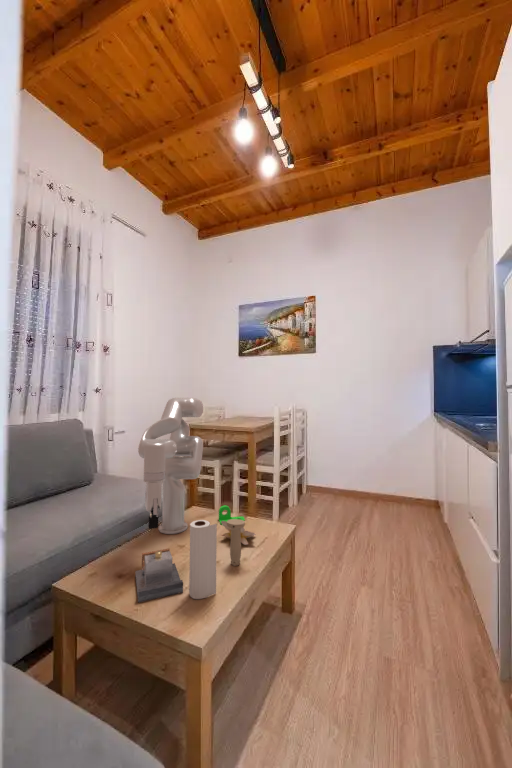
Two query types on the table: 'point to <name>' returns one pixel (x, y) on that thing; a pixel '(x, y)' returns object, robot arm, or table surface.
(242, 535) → the decorative flower
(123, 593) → the table surface
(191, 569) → the paper towel roll
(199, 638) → the table surface
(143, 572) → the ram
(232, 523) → the handle
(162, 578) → the block
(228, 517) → the mechanical part
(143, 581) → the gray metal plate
